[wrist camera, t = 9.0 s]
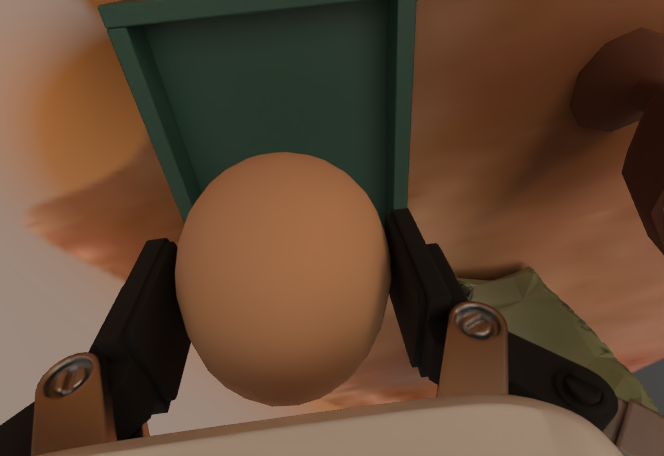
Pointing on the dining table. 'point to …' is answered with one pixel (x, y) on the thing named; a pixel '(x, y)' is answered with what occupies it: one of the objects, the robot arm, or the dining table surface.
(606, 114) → the ice cream bowl
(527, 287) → the pouch
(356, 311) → the egg
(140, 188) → the dining table surface
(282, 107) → the tray
